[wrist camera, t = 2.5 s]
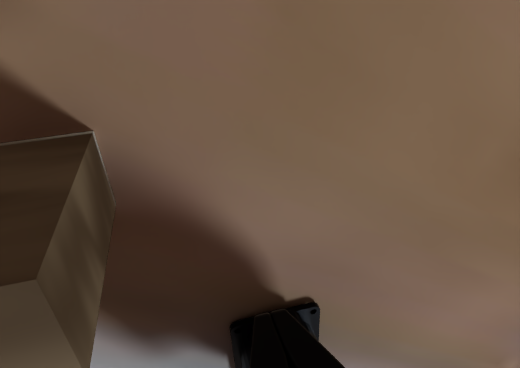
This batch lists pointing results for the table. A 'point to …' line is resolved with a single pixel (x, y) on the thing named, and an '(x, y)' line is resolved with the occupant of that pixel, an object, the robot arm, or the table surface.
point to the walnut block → (52, 249)
